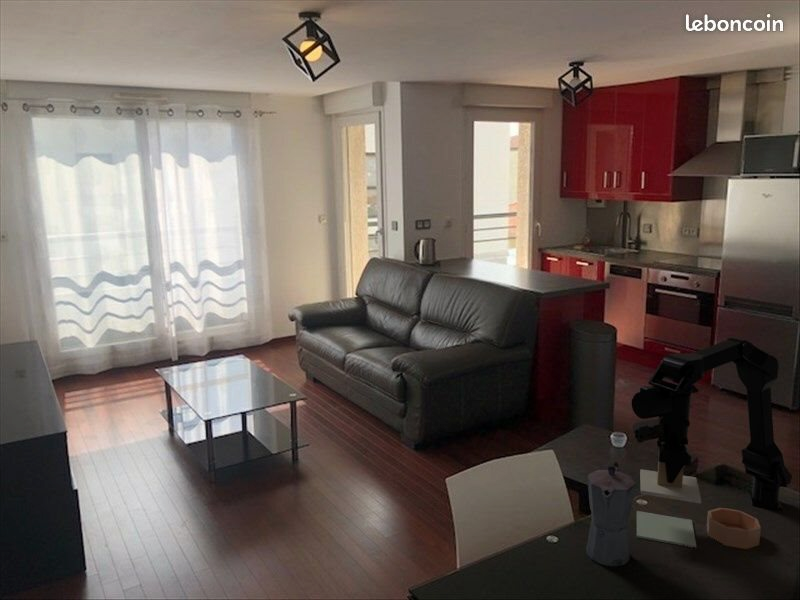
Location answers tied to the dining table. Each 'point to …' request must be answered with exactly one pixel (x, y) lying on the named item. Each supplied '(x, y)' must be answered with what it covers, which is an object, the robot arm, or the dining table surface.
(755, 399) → the robot arm
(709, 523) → the bowl
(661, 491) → the cover
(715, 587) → the dining table surface
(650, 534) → the mat
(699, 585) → the dining table surface
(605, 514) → the moka pot
